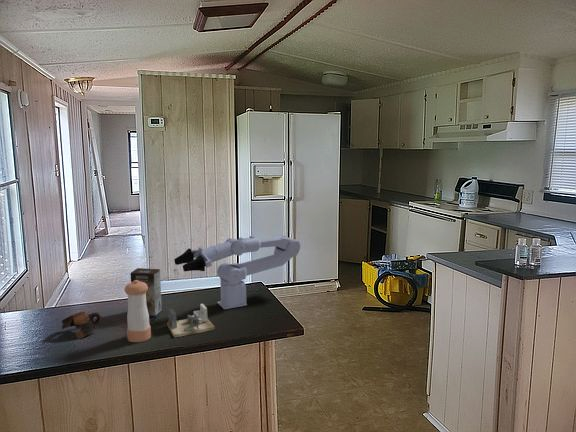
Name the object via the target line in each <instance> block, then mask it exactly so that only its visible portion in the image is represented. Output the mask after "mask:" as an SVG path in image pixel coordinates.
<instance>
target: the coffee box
mask: <svg viewBox="0 0 576 432" xmlns="http://www.w3.org/2000/svg"><path fill="white" fill-rule="evenodd" d="M134 280H138V281H141V282H144V283H146V284H147V286H148V290H147V292H146V305H147V309H148V314H149V317H150V316H152V317H153V316H154V317H155V316H157V315H158V314H159V313H160V312H161V311H162V290H161V289H162V286H161V269H159V268H143V267H141V268H140V267H138V268H136V269H134V270H133V271H131V272H130V283H131V282H133V281H134Z"/></svg>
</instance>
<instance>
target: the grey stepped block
mask: <svg viewBox="0 0 576 432" xmlns="http://www.w3.org/2000/svg"><path fill="white" fill-rule="evenodd" d="M199 306H200V308H199V310H194V311H193V313H192V314H193V315H190V314H187V317H186V319H188V322H190V321H191V320H193V318H197V319H198V322H199V323H202V322H205V321H207V318H208V308H207V306H206V305H205V304H204V303H200V304H199Z"/></svg>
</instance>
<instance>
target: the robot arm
mask: <svg viewBox="0 0 576 432" xmlns="http://www.w3.org/2000/svg"><path fill="white" fill-rule="evenodd" d="M271 247H274V251H273V254H271V255H269V256H267V255H266V256H264V257H260V258H256V259H252V260H250V261H245V262H241V263H238V262H237V263H236V262H235V263H234V262H233V263H226V262H225V263H222V264H220V265H219V267H218V268H217V271H216V272H217V276H218V278H219V279H220V301H217V304H218V305H219V307H221V308H222V309H223V310H228V309H234V308H238V307H239V308H240V307H244V306H248V303H247V286H246V283H245V282H244V281H243V280H246V277H248V276H251V275H254V274H257V273H261V272H265V271H269V270H271V269H275V268H278V267H281V266H284V265H285V264H287V262H288V261H290V260H291V259H292V258H294V257H296V256H298V254H299V252H300V250H301V242H300V240H298V239H295V238H291V237H287V236H285V235H277V236H271V237H266V238H265V237H264V238H260V239H259V238H258V237H256V236H255V235H249V237H244V238H243V237H238V239H237V238H227V239H226V240H225V241H224V242H222V243H217V244H215V245H211V246H208V247H205V248H202V247H201V246H199V247H198V249H191V248H187V249H186V250H185V251H184V252H183V253H181V254H180V255H179V256H177V257H176V258H174V259H173V260H174V265H177V266H178V265H182V270H183V272H193V271H194V272H195V271H200V272H205V271H206V268H210V267H212V266H213V263H214V262H217V261H221V260H224V259H226V258H229V257H231V256H233V255H234V256H239V257H240V256H242V255H243V254H248V253H253V252H258V251H259V250H260V249H261V248H271Z"/></svg>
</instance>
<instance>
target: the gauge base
mask: <svg viewBox="0 0 576 432" xmlns="http://www.w3.org/2000/svg"><path fill="white" fill-rule="evenodd" d="M166 324H167V325H166V326H167V327H168V330H169V331H170V333H171V335H172V336H173V337H174V339H175V338H181V337H183V336H190V335H195V334H200V333H206V332H210V331H215V330H216V329H215V328H216V327H215V325H214V324H213V323H212V321H210V320H209V318H208V317H207V321H205V322H202V323H199V324H196V325H195V324H194V323H193V320H191V321H190V322H188V319H187V318H186V319H185V318H184V319H180V320H177V328H174V329H172V327H171V326H170V324H169V321H168V322H166Z"/></svg>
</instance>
